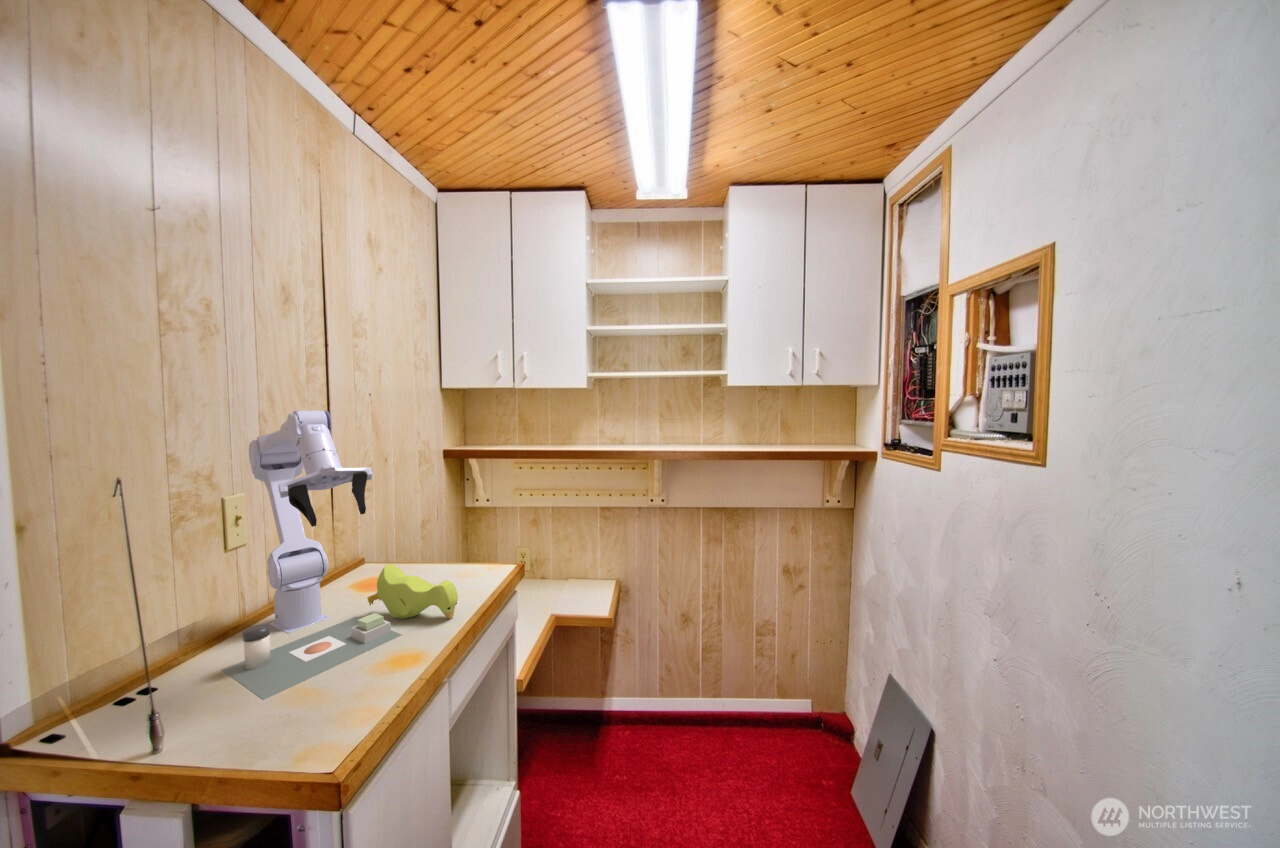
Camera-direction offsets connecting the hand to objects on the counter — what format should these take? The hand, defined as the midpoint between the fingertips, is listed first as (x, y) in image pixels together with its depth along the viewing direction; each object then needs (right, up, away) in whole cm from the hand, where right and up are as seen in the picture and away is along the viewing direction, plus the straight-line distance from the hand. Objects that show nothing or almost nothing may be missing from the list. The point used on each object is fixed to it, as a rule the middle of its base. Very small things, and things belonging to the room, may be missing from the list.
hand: (339, 517), depth 80 cm
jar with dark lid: (-15, -27, +1) cm, 31 cm away
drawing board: (-7, -27, +4) cm, 29 cm away
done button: (-1, -26, +10) cm, 28 cm away
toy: (+4, -27, +19) cm, 34 cm away
